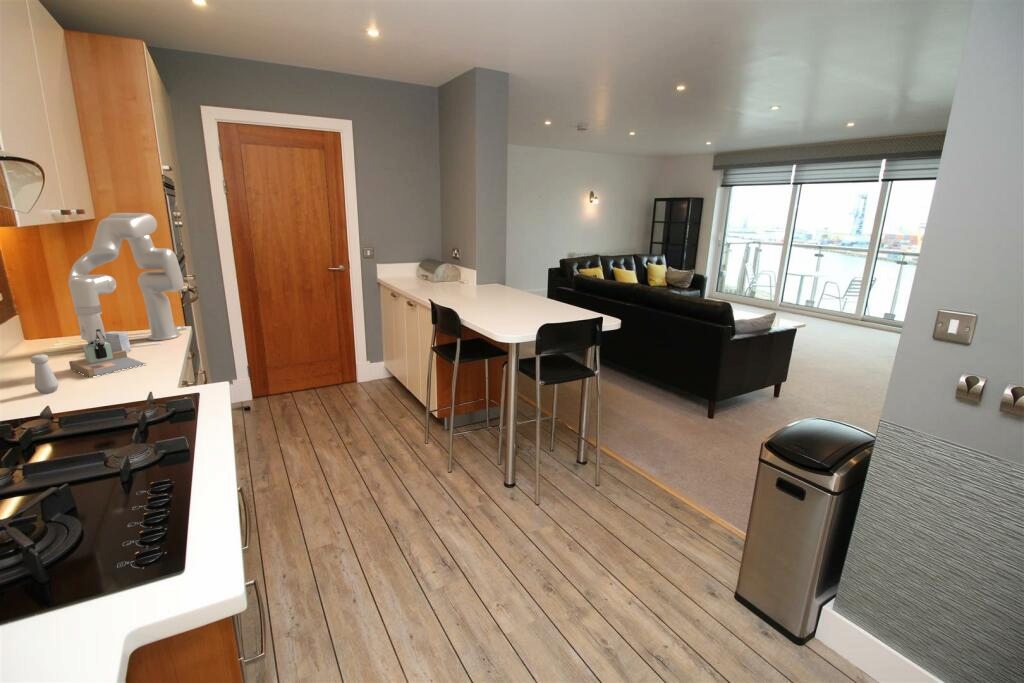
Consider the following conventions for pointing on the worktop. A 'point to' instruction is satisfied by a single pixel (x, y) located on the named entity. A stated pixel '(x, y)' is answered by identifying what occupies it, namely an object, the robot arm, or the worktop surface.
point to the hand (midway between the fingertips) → (99, 356)
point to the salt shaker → (44, 375)
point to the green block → (91, 354)
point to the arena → (104, 364)
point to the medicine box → (118, 341)
